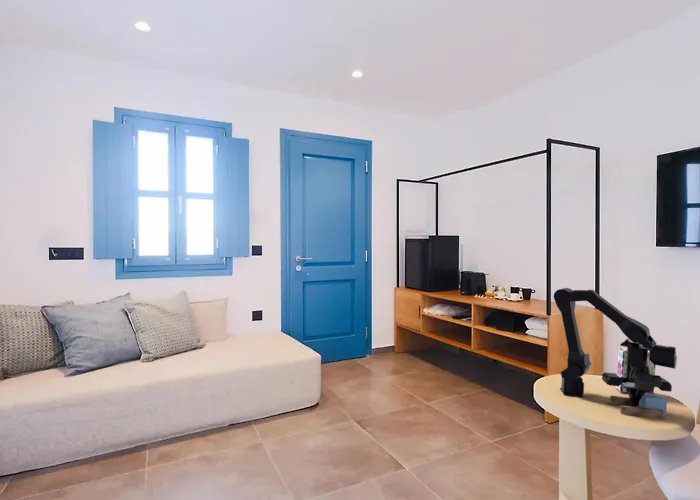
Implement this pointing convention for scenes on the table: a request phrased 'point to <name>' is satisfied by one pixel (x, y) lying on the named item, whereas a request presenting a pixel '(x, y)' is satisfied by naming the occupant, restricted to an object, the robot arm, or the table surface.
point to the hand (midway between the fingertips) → (634, 406)
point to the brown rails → (635, 408)
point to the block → (653, 402)
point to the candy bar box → (622, 368)
